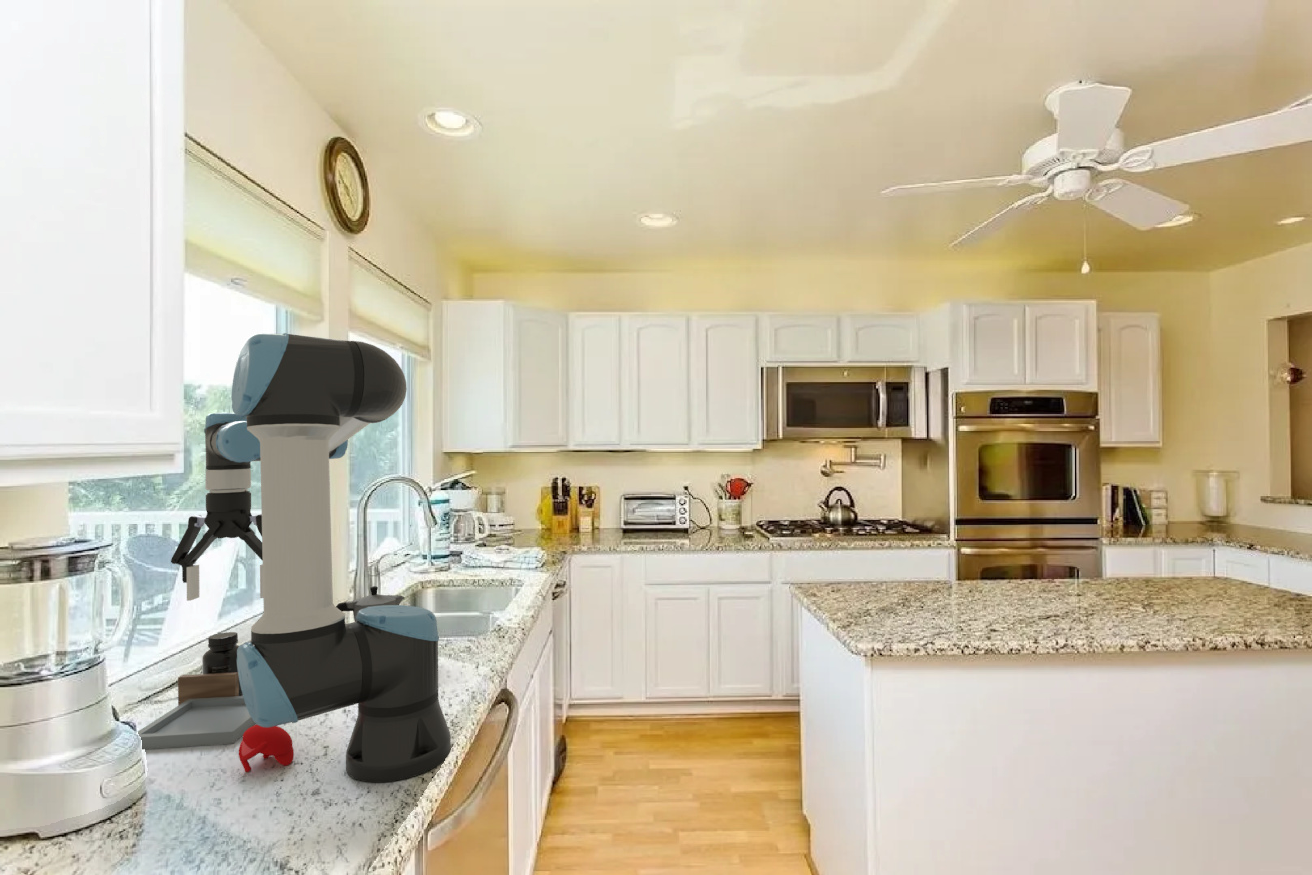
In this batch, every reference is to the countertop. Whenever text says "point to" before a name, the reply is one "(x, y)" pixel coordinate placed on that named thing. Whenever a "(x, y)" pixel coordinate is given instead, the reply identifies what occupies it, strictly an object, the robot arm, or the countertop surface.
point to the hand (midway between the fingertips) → (229, 597)
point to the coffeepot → (370, 602)
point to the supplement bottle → (221, 654)
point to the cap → (266, 745)
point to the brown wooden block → (207, 686)
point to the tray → (199, 724)
